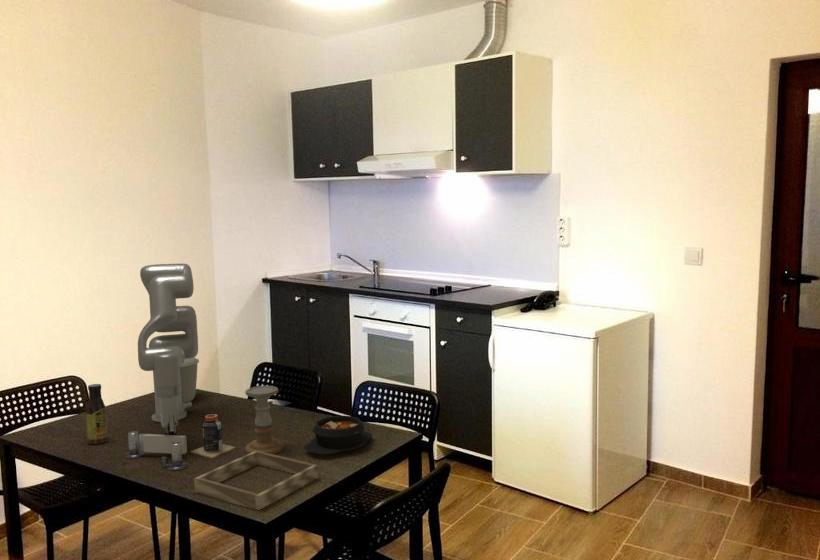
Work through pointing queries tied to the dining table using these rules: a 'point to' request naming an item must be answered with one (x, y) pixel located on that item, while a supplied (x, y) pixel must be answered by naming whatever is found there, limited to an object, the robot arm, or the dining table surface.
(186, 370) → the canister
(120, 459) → the dining table surface
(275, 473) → the dining table surface
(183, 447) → the gate
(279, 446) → the candle holder
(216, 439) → the pill bottle
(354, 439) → the casserole
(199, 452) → the coaster
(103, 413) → the sauce bottle
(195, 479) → the square wooden frame
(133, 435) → the gate posts
